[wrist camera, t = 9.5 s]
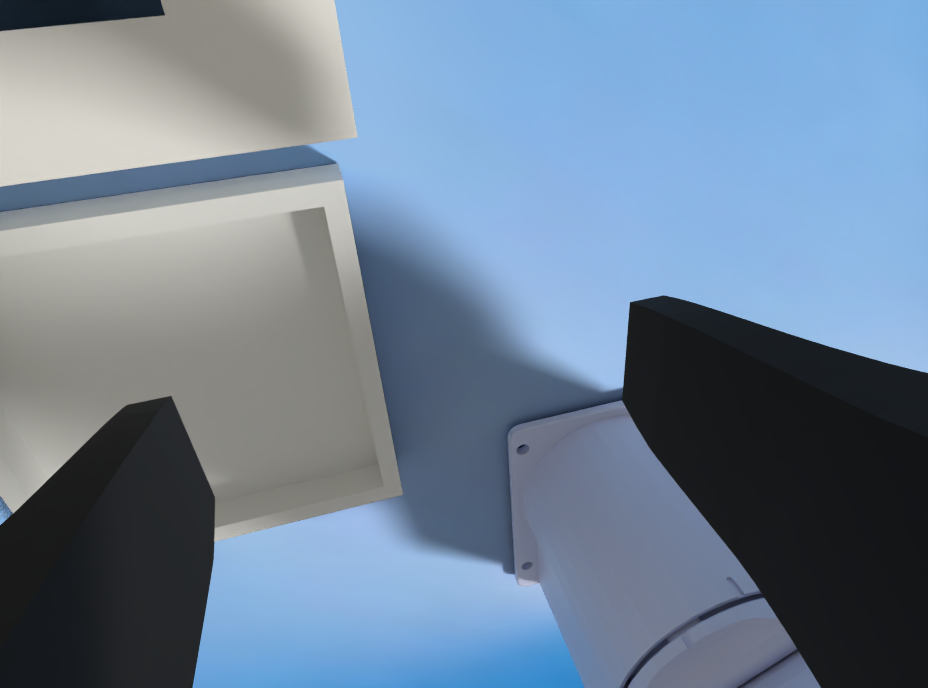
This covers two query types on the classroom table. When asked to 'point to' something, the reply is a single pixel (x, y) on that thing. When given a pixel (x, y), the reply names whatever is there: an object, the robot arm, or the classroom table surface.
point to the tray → (199, 341)
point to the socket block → (171, 87)
